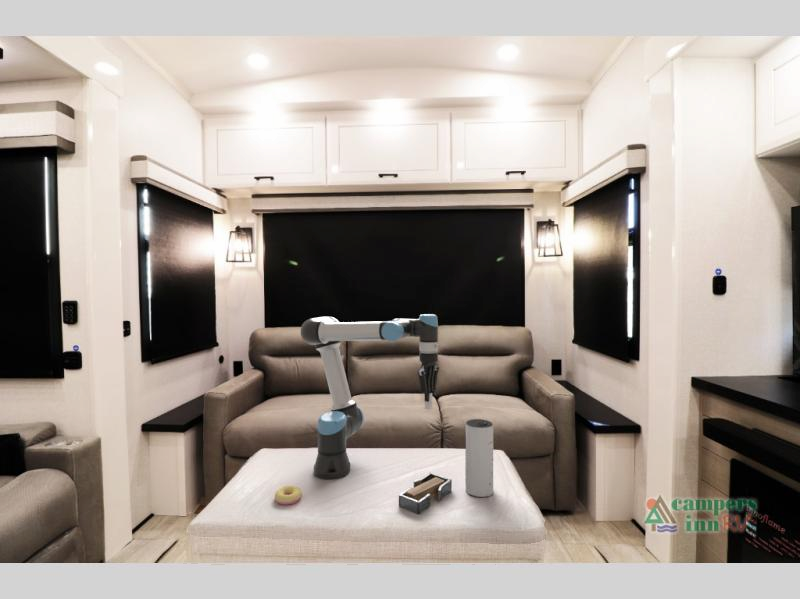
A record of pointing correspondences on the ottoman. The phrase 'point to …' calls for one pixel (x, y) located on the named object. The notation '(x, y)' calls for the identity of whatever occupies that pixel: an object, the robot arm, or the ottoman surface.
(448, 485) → the cap
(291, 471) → the ottoman surface
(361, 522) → the ottoman surface
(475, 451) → the speaker
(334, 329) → the robot arm
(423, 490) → the slat
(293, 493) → the donut
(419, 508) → the cap
